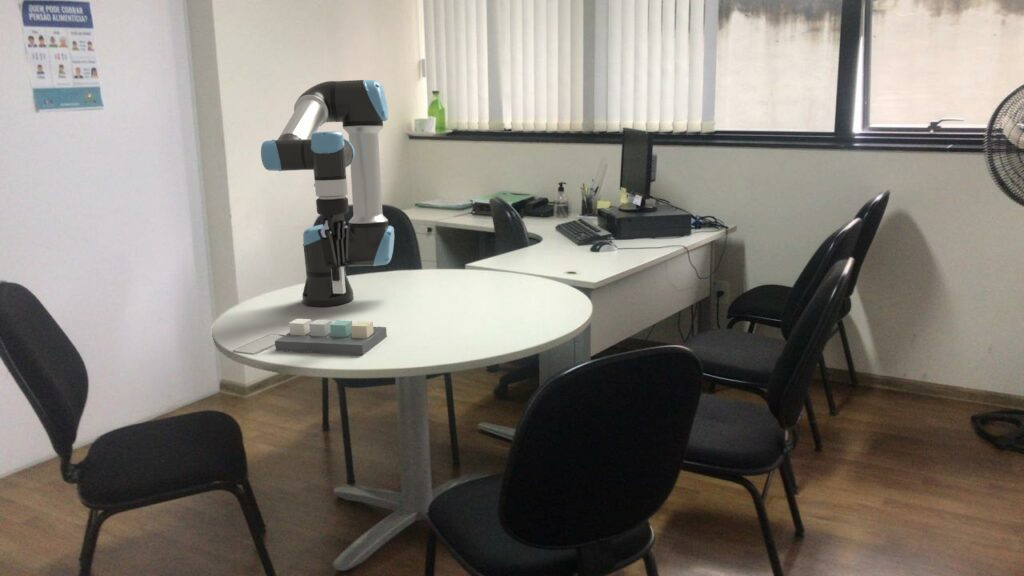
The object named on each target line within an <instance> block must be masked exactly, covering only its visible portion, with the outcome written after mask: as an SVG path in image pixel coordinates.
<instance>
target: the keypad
mask: <svg viewBox="0 0 1024 576" xmlns="http://www.w3.org/2000/svg"><path fill="white" fill-rule="evenodd" d="M373 331H374V334H373V335H371V336H370V337H369V338H352V334H350V335H349V336H348V337H331V333H330V334H328V335H327V336H325V337H323V336H310V333H308V334H306V335H305V336H301V335H290V331H289V332H288V333H286V334H283V335H284V336H283V337H281V338H279V339H277V340H276V341H275V346H274V348H275V352H291V353H292V352H295V353H312V354H314V353H315V354H334V355H352V356H353V355H356V356H364V355H365V354H366V353H367V352H369V351H370V350H371V349H374V347H375V346H377V345H378V344H379V343H380V342H382V341H383V340H384V339H386V338H387V337H388V335H387V333H388V332H387V327H386V326H373Z"/></svg>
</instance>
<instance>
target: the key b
mask: <svg viewBox="0 0 1024 576" xmlns="http://www.w3.org/2000/svg"><path fill="white" fill-rule="evenodd" d="M332 323H333V322H332V319H316V320H314V321H311V323H310V324H309V326H310V336H323V337H325V336H327V335H328V334H330V333H331V329H330V325H331V324H332Z"/></svg>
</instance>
